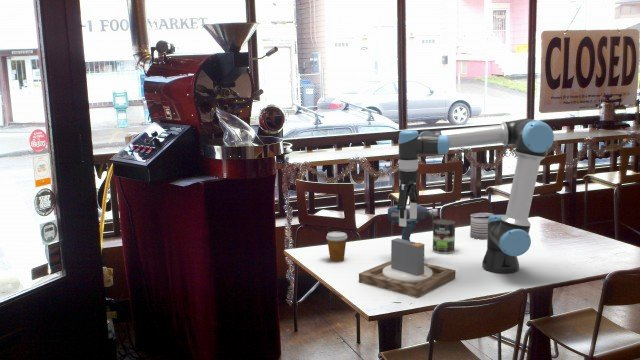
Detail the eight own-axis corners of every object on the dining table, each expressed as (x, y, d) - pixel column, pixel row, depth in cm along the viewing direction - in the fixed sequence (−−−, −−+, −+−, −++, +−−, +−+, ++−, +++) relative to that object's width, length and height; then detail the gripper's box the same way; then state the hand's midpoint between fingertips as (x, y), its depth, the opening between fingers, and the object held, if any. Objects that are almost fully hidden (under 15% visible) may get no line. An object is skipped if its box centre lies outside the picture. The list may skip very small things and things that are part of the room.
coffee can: (452, 254, 289) (453, 225, 287) (430, 252, 293) (430, 223, 291) (456, 248, 299) (457, 220, 296) (435, 246, 302) (435, 218, 300)
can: (478, 241, 311) (479, 217, 309) (465, 235, 322) (465, 212, 319) (497, 238, 316) (498, 214, 314) (483, 232, 326) (483, 210, 324)
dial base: (455, 278, 257) (455, 269, 257) (417, 297, 237) (417, 288, 236) (398, 265, 276) (398, 256, 275) (358, 281, 255) (358, 273, 255)
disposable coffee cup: (351, 259, 285) (351, 233, 283) (338, 264, 278) (337, 238, 276) (336, 255, 291) (335, 230, 289) (322, 260, 285) (321, 234, 282)
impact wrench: (437, 263, 278) (438, 207, 273) (386, 260, 282) (386, 206, 278) (438, 257, 285) (439, 203, 281) (388, 255, 290) (388, 202, 285)
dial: (372, 275, 257) (372, 241, 254) (405, 264, 270) (405, 232, 267) (409, 287, 242) (410, 251, 239) (442, 275, 255) (443, 241, 252)
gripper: (408, 164, 261) (408, 214, 265) (388, 174, 239) (388, 228, 243) (426, 165, 258) (426, 216, 261) (407, 175, 236) (407, 230, 239)
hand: (408, 222), depth 252 cm, fingers open, 13 cm apart
